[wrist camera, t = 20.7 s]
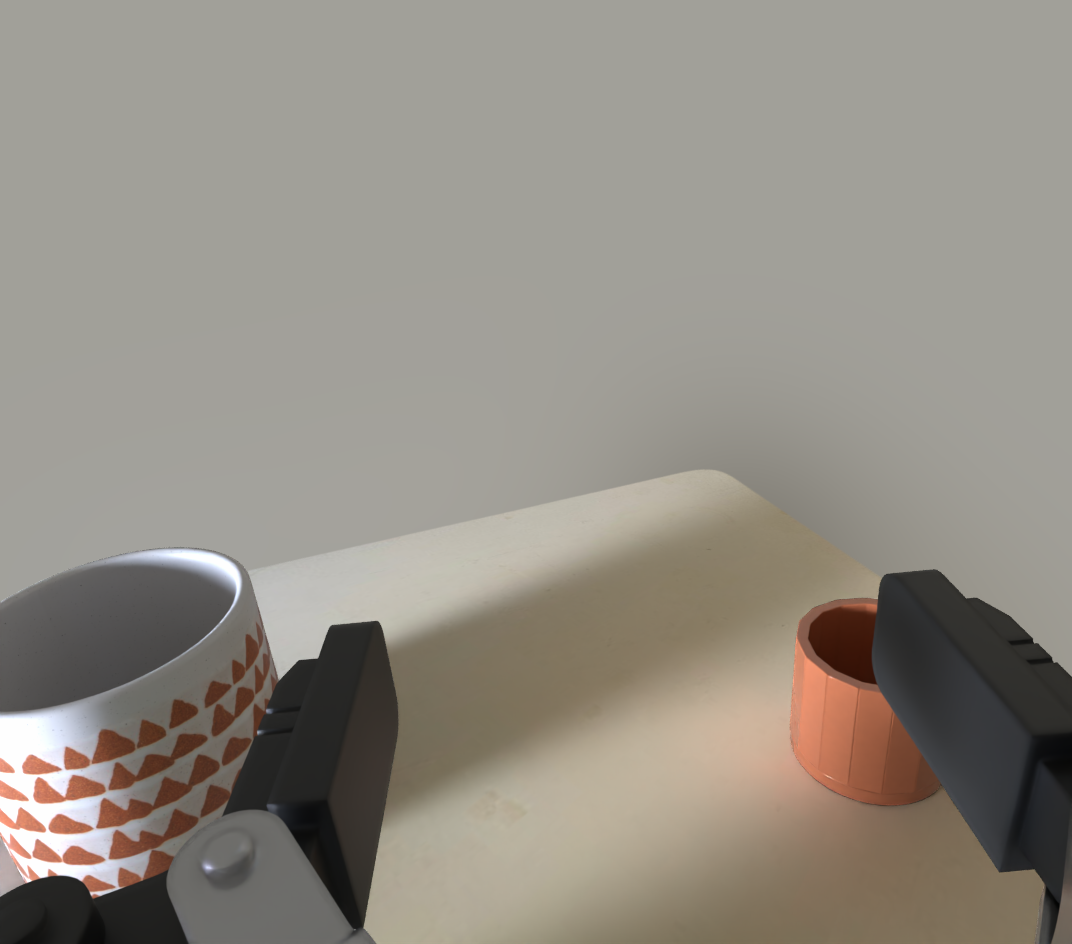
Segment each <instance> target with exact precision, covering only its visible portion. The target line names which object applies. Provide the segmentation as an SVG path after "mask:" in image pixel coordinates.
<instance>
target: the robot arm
mask: <svg viewBox="0 0 1072 944" xmlns="http://www.w3.org/2000/svg"><path fill="white" fill-rule="evenodd" d="M872 666H873V671H874V675H875V679H876V682H877V685H878V687H879V689H880V691H881V693H882V695H883V696H884V698H885V699H886V701H887V702H888V704H889V705H890V707H891V708H892V710H893V711H894V713H895V714H896V716H897V717H898V719H899V720H900V722H901V723H902V725H903V727H904V728H905V730H906V731H907V733H908V734H909V736H910V737H911V739H912V740H913V742H914V743H915V745H916V746H917V748H918V749H919V751H920V752H921V754H922V755H923V757H924V758H925V760H926V762H927V763H928V765H929V766H930V768H931V769H932V771H933V772H934V774H935V775H936V777H937V778H938V780H939V781H940V783H941V784H942V786H943V787H944V789H945V790H946V792H947V794H948V795H949V797H950V798H951V800H952V801H953V803H954V804H955V806H956V807H957V809H958V810H959V812H960V813H961V815H962V816H963V818H964V819H965V821H966V822H967V824H968V825H969V827H970V829H971V830H972V832H973V833H974V835H975V836H976V838H977V839H978V841H979V842H980V844H981V845H982V847H983V848H984V850H985V851H986V853H987V854H988V856H989V857H990V859H991V861H992V862H993V864H994V865H995V867H996V868H997V870H998V871H999V872H1010V871H1021V870H1031V869H1035V871H1036V872H1037V873H1038V875H1039V876H1040V878H1041V879H1042V881H1043V882H1044V883H1045V884H1044V888H1043V892H1042V895H1041V899H1040V905H1039V913H1038V920H1037V928H1036V936H1035V944H1072V677H1071V676H1070V675H1069V674H1068V673H1067V672H1066V671H1065V670H1064V669H1063V668H1062V667H1061V666H1060V665H1059V664H1058V663H1053V661H1052V657H1051V656H1050V655H1049V654H1048V653H1047V652H1046V651H1045V650H1044V649H1043V648H1042V647H1041V646H1040V645H1039V644H1037V643H1035V644H1034V642H1033V638H1032V637H1031V636H1030V635H1029V634H1028V633H1027V632H1025V630H1024V629H1023V628H1021V627H1020V626H1019V625H1018V624H1017V623H1016V622H1015V621H1014V620H1013V619H1012V618H1011V617H1010V616H1009V615H1007V614H1005V613H1003V612H1002V611H1000V610H998V609H996V608H994V607H992V606H991V605H989V604H987V603H985V602H983V601H982V600H980V599H978V598H967V599H966V598H965V597H964V596H963V595H962V594H961V593H960V592H959V590H958V589H957V588H956V587H955V586H954V585H953V584H952V583H951V582H949V580H948V579H947V578H946V577H945V576H944V575H943V574H942V573H941V572H939V571H938V570H934V569H933V570H923V571H912V572H903V573H892V574H886V575H884V577H883V578H882V580H881V582H880V587H879V595H878V603H877V612H876V620H875V629H874V638H873V646H872ZM397 736H398V702H397V696H396V691H395V686H394V681H393V677H392V672H391V667H390V662H389V658H388V653H387V648H386V644H385V639H384V634H383V630H382V627H381V625H380V623H379V622H378V621H371V622H361V623H350V624H340V625H332V626H330V628H329V630H328V632H327V635H326V638H325V641H324V643H323V646H322V649H321V652H320V655H319V658H318V659H308V660H299V661H298V662H297V663H296V664H295V665H294V666H293V667H292V668H291V669H290V670H289V671H288V672H287V673H286V674H285V675H284V676H283V677H282V678H281V679H280V681H279V682H278V683H277V684H276V686H275V688H274V691H273V693H272V696H271V698H270V701H269V703H268V705H267V708H266V714H264V715H263V718H262V720H261V722H260V725H259V727H258V730H257V736H255V737H254V740H253V742H252V744H251V747H250V749H249V752H248V754H247V757H246V759H245V761H244V764H243V766H242V769H241V771H240V774H239V776H238V778H237V781H236V783H235V786H234V788H233V791H232V793H231V795H230V798H229V800H228V803H227V805H226V808H225V810H224V812H223V815H222V817H220V818H218V819H216V820H214V821H212V822H210V823H209V824H207V825H205V826H204V827H202V828H201V829H200V830H198V831H197V832H196V833H195V834H193V835H192V836H191V837H190V838H189V839H188V840H187V841H186V842H185V843H184V844H183V846H182V847H181V848H180V849H179V851H178V852H177V854H176V855H175V857H174V859H173V860H172V863H171V865H170V867H169V869H168V870H166V871H164V872H163V873H160V874H158V875H155V876H153V877H151V878H148V879H145V880H143V881H140V882H137V883H134V884H132V885H129V886H126V887H123V888H121V889H118V890H115V891H112V892H110V893H107V894H104V895H102V896H99V897H96V898H92V896H91V894H90V892H89V890H88V888H87V887H86V885H85V884H84V883H83V882H82V881H80V880H79V879H77V878H74V877H71V876H63V875H58V876H49V877H44V878H40V879H37V880H34V881H31V882H28V883H26V884H23V885H21V886H19V887H17V888H15V889H13V890H11V891H10V892H8V893H6V894H4V895H3V896H1V897H0V944H376V943H375V942H374V940H373V939H372V937H371V936H370V935H369V934H368V932H367V931H366V930H365V929H364V928H363V927H364V922H365V916H366V910H367V905H368V899H369V894H370V888H371V882H372V877H373V871H374V866H375V860H376V854H377V849H378V843H379V838H380V832H381V826H382V821H383V815H384V810H385V804H386V798H387V793H388V787H389V781H390V776H391V770H392V765H393V759H394V753H395V748H396V742H397ZM354 929H356V930H354Z"/></svg>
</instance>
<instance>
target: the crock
mask: <svg viewBox="0 0 1072 944" xmlns="http://www.w3.org/2000/svg"><path fill="white" fill-rule="evenodd" d="M877 603H878V599H871V598H854V599H839V600H834V601H831V602H828V603H825V604H822V605H819V606H817V607H814V608H812V609H811V610H810V611H809V612H808V613H807V614H806V615H805V616H804V617H803V618H802V619H801V620H800V621H799V624H798V630H797V635H796V645H795V660H794V675H793V690H792V704H791V719H790V731H791V732H790V740H791V745H792V749H793V752H794V754H795V756H796V758H797V759H798V761H799V762H800V764H801V765H802V766H803V768H804V769H805V770H806V771H807V772H808V773H809V774H810V775H811V776H812V777H813V778H814V779H816V780H817V781H818V782H820V783H821V784H822V785H824V786H826V787H827V788H829V789H831V790H832V791H834V792H836V793H838V794H841V795H843V796H845V797H848V798H851V799H853V800H857V801H860V802H864V803H869V804H875V805H885V806H896V805H905V804H910V803H915V802H918V801H920V800H923V799H925V798H927V797H929V796H930V795H932V794H933V793H934V792H935V791H937V790H938V789H939V787H940V786H941V785H942V784H941V783H940V781H939V780H938V778H937V777H936V775H935V774H934V772H933V771H932V769H931V768H930V766H929V765H928V763H927V762H926V760H925V758H924V757H923V755H922V754H921V752H920V751H919V749H918V748H917V746H916V745H915V743H914V742H913V740H912V739H911V737H910V736H909V734H908V733H907V731H906V730H905V728H904V727H903V725H902V723H901V722H900V720H899V719H898V717H897V716H896V714H895V713H894V711H893V710H892V708H891V707H890V705H889V704H888V702H887V701H886V699H885V698H884V696H883V695H882V693H881V691H880V689H879V687H878V685H877V682H876V679H875V675H874V671H873V666H872V646H873V638H874V629H875V620H876V612H877Z"/></svg>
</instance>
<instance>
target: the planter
mask: <svg viewBox="0 0 1072 944" xmlns="http://www.w3.org/2000/svg"><path fill="white" fill-rule="evenodd" d="M278 682H279V679H278V675H277V672H276V668H275V665H274V661H273V658H272V654H271V650H270V647H269V643H268V640H267V636H266V633H265V629H264V626H263V622H262V618H261V615H260V611H259V608H258V604H257V601H256V597H255V594H254V590H253V586H252V583H251V580H250V577H249V575H248V572H247V571H246V569H245V568H244V567H243V566H242V565H241V564H240V563H239V562H238V561H236V560H235V559H233V558H231V557H229V556H227V555H225V554H222V553H219V552H216V551H212V550H206V549H199V548H184V547H174V548H158V549H149V550H142V551H135V552H130V553H125V554H120V555H116V556H112V557H108V558H104V559H100V560H97V561H93V562H90V563H87V564H84V565H81V566H78V567H75V568H72V569H69V570H67V571H64V572H61V573H59V574H56V575H54V576H51V577H49V578H47V579H44V580H42V581H40V582H37V583H36V584H33V585H31V586H29V587H27V588H25V589H23V590H21V591H19V592H17V593H15V594H13V595H11V596H10V597H8V598H6V599H4V600H3V601H1V602H0V836H1V838H2V840H3V841H4V843H5V845H6V847H7V849H8V851H9V853H10V855H11V857H12V859H13V860H14V862H15V864H16V866H17V868H18V870H19V872H20V874H21V876H22V877H23V879H24V881H25V883H28V882H31V881H34V880H37V879H40V878H44V877H49V876H58V875H63V876H71V877H74V878H77V879H79V880H80V881H82V882H83V883H84V884H85V885H86V887H87V888H88V890H89V892H90V894H91V896H92V898H96V897H99V896H102V895H104V894H107V893H110V892H112V891H115V890H118V889H121V888H123V887H126V886H129V885H132V884H134V883H137V882H140V881H143V880H145V879H148V878H151V877H153V876H155V875H158V874H160V873H163V872H164V871H166V870H168V869H169V867H170V865H171V863H172V860H173V859H174V857H175V855H176V854H177V852H178V851H179V849H180V848H181V847H182V846H183V844H184V843H185V842H186V841H187V840H188V839H189V838H190V837H191V836H192V835H193V834H195V833H196V832H197V831H198V830H200V829H201V828H202V827H204V826H205V825H207V824H209V823H210V822H212V821H214V820H216V819H218V818H220V817H222V815H223V812H224V810H225V808H226V805H227V803H228V800H229V798H230V795H231V793H232V791H233V788H234V786H235V783H236V781H237V778H238V776H239V774H240V771H241V769H242V766H243V764H244V761H245V759H246V757H247V754H248V752H249V749H250V747H251V744H252V742H253V740H254V737H255V736H257V730H258V727H259V725H260V722H261V720H262V718H263V715H264V714H266V708H267V705H268V703H269V701H270V698H271V696H272V693H273V691H274V688H275V686H276V684H277V683H278Z"/></svg>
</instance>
